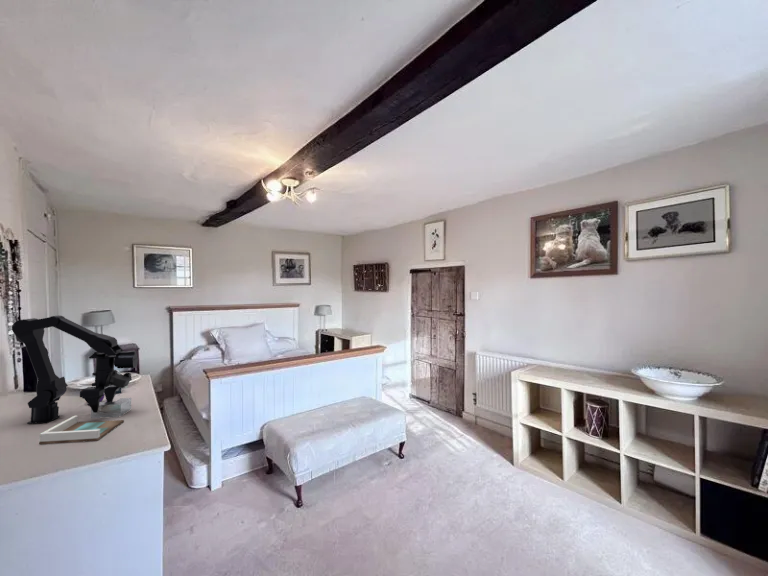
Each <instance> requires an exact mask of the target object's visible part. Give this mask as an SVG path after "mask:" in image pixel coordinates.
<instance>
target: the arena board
mask: <svg viewBox="0 0 768 576" xmlns="http://www.w3.org/2000/svg"><path fill="white" fill-rule="evenodd" d="M124 421H125V420H124V419H120V420H119V419H118V420H115V419H114V420H98V421H96V420H95V421H80V422H79V421H78V422H77V423H76V424H74V425H72V426H70V427H69V428H67V429H65V430H63V431H78V430H96V429H100V437H99V438H94V439H78V440H61V441H44V442H39V441H38V442H39V443H38V444H39V445H48V444H49V445H50V444H51V445H53V444H65V443H81V442H83V441H85V442H96V441H97V442H98V441H99V440H100V438H101V439H102V438H104V437H105V436H107V435H108V434H109V433H110V432H112V431H114V428H115V427H116V428H118V427H119V426H121V425H122V424H123V423H124ZM121 423H122V424H121ZM118 425H119V426H118ZM117 426H118V427H117ZM116 428H115V429H116ZM111 430H112V431H111ZM107 433H108V434H107Z"/></svg>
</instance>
